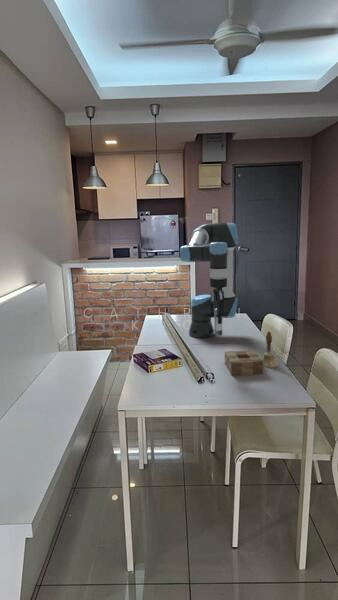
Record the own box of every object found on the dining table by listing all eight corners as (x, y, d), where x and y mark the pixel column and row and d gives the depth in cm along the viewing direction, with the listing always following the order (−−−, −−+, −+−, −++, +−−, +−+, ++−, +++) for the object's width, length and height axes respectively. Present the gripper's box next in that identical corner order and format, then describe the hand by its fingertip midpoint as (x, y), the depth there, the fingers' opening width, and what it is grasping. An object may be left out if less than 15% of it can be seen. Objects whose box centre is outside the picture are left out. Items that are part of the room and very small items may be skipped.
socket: (224, 363, 174) (224, 351, 173) (253, 361, 175) (253, 350, 174) (231, 375, 161) (231, 363, 159) (262, 374, 161) (263, 361, 160)
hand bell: (265, 369, 167) (266, 335, 163) (256, 362, 174) (257, 330, 171) (281, 366, 169) (282, 333, 165) (271, 360, 177) (272, 328, 173)
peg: (213, 333, 168) (213, 307, 166) (221, 332, 168) (221, 307, 166) (215, 335, 165) (215, 309, 162) (223, 335, 165) (223, 309, 162)
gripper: (207, 275, 169) (207, 324, 174) (213, 281, 153) (213, 334, 158) (223, 274, 169) (223, 323, 174) (230, 280, 153) (230, 334, 158)
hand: (218, 328), depth 166 cm, fingers closed on peg, 3 cm apart
